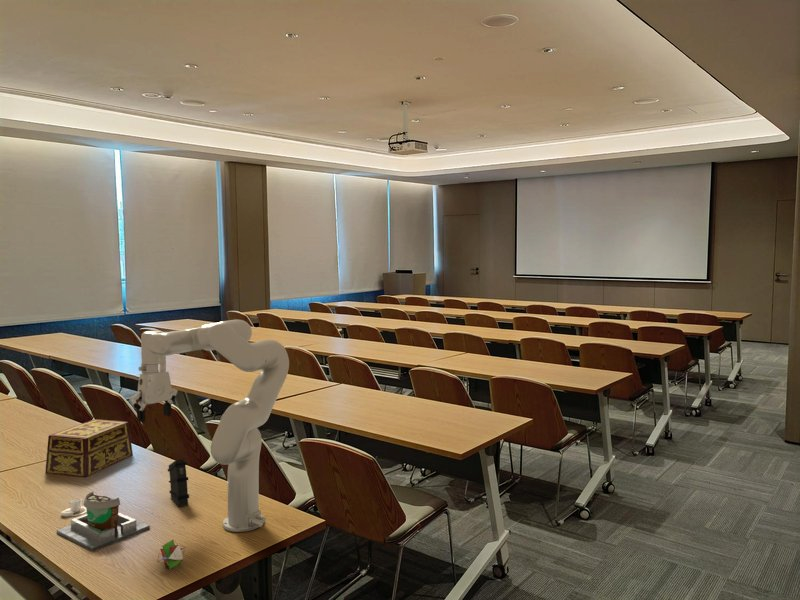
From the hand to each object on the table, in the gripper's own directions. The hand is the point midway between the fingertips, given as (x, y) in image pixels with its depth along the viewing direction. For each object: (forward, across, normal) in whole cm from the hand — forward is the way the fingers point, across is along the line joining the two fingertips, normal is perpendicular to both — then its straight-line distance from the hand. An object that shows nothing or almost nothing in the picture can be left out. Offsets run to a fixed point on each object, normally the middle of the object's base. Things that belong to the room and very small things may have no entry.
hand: (154, 418), depth 200 cm
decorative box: (+31, +11, +60) cm, 68 cm away
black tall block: (+31, +8, -1) cm, 32 cm away
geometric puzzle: (+31, -21, -38) cm, 53 cm away
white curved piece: (+31, -19, +21) cm, 42 cm away
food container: (+30, -22, -3) cm, 37 cm away
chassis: (+30, -20, -3) cm, 36 cm away
